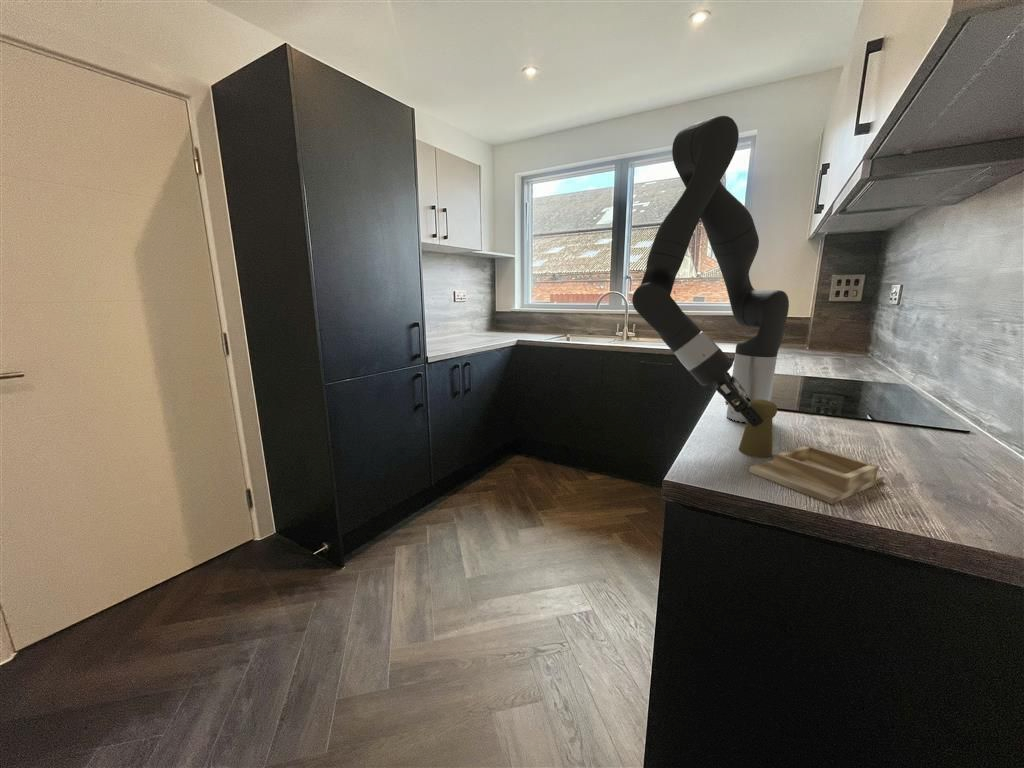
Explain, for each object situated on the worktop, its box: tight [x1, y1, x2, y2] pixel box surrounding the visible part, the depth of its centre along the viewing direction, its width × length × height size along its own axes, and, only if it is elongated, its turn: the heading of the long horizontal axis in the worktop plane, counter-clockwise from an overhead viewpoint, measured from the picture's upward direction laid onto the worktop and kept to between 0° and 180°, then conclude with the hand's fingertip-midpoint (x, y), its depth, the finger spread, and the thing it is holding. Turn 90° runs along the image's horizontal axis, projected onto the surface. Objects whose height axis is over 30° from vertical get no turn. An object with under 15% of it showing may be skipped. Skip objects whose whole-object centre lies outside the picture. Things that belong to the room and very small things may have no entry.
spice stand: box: [748, 444, 885, 505], centre depth 72 cm, size 18×13×4 cm
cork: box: [738, 399, 778, 459], centre depth 82 cm, size 6×6×11 cm
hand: (757, 418), depth 82 cm, fingers open, 8 cm apart
